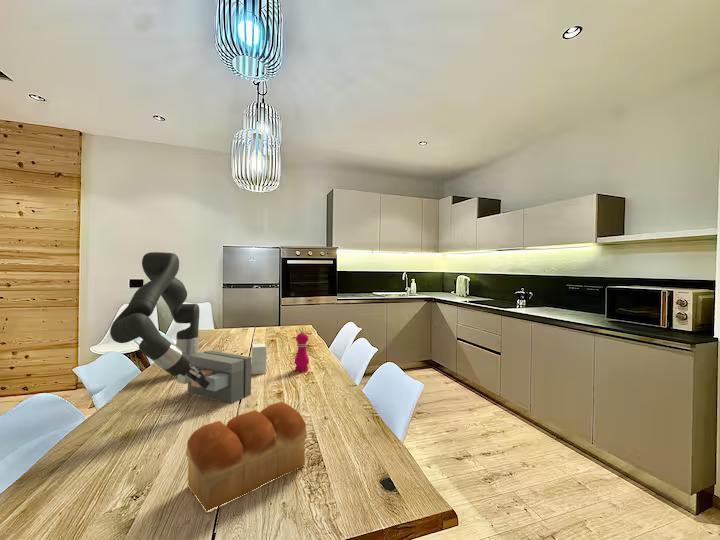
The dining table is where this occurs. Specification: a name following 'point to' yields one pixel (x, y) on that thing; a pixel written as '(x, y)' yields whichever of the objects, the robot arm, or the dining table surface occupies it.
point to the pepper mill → (301, 352)
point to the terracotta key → (206, 373)
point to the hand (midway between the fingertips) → (206, 385)
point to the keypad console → (229, 364)
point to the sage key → (183, 379)
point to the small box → (258, 359)
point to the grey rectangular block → (218, 381)
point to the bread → (244, 453)
